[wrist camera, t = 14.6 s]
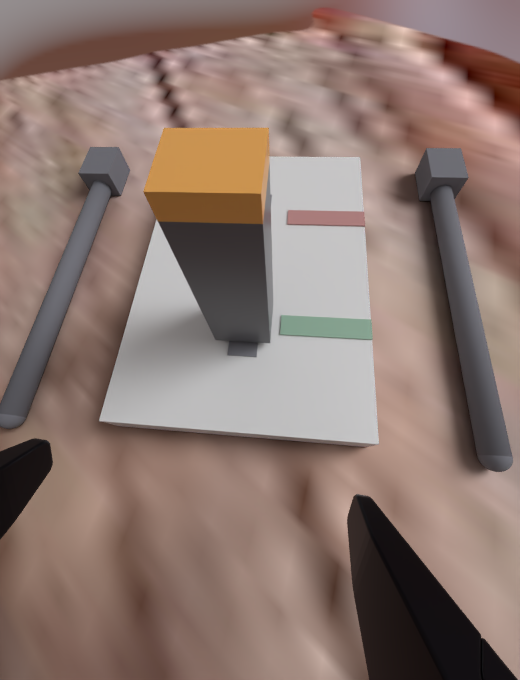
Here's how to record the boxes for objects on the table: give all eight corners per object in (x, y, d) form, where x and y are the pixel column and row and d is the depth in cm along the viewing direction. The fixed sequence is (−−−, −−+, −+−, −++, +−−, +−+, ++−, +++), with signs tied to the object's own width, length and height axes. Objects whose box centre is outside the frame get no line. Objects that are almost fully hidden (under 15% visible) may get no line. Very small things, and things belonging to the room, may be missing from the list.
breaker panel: (367, 446, 16) (379, 443, 14) (117, 425, 17) (97, 420, 15) (353, 181, 24) (360, 155, 22) (182, 179, 25) (174, 154, 23)
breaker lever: (270, 343, 16) (261, 193, 7) (215, 340, 16) (143, 191, 8) (273, 303, 17) (268, 128, 8) (221, 300, 17) (164, 128, 9)
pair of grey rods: (513, 473, 15) (545, 474, 13) (-3, 428, 18) (-36, 423, 16) (446, 173, 24) (460, 148, 22) (103, 169, 26) (90, 147, 24)
